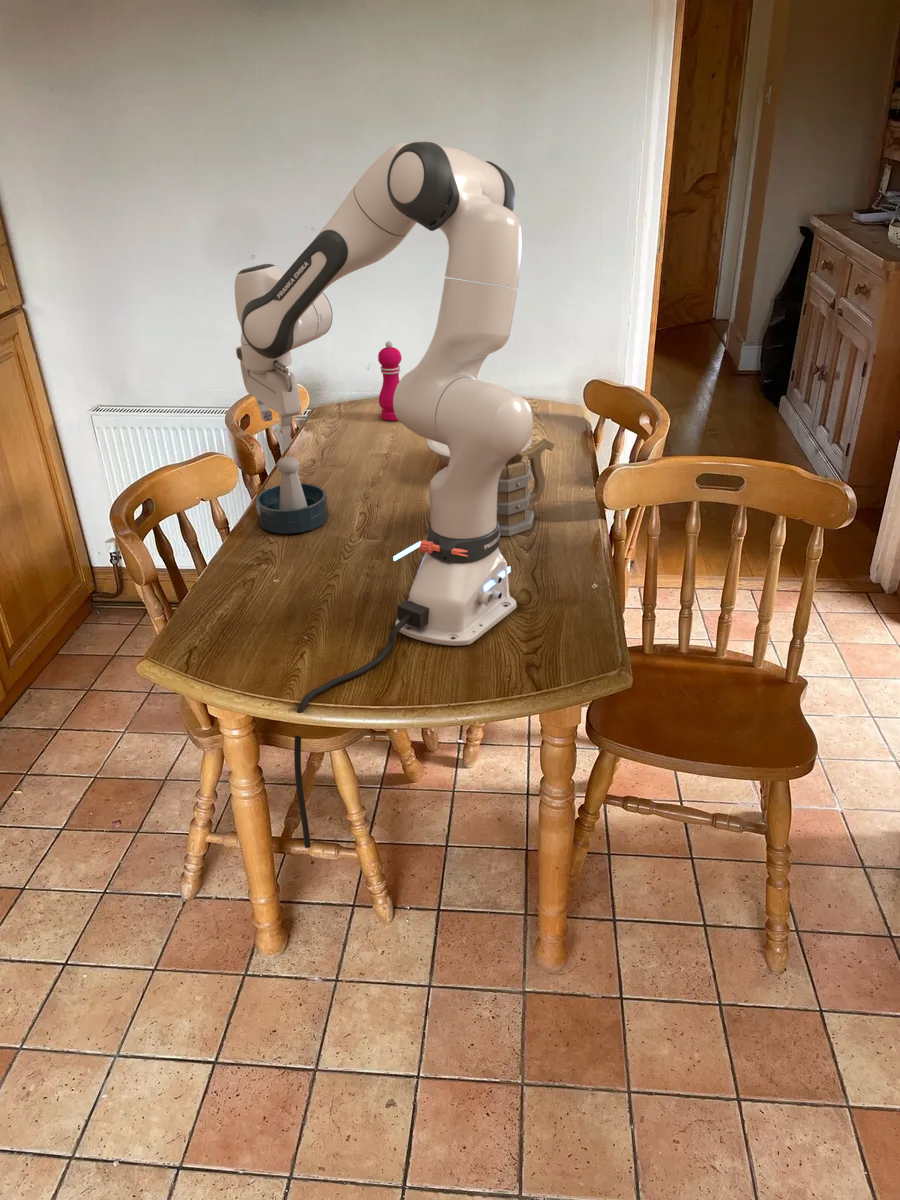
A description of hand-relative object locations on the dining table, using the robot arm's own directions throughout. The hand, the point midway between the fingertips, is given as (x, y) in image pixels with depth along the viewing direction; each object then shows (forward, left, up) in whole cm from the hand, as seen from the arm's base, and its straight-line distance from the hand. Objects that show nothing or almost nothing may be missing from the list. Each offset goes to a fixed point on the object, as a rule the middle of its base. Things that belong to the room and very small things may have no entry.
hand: (276, 426), depth 180 cm
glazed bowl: (+1, 0, -21) cm, 21 cm away
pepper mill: (+66, +11, -10) cm, 68 cm away
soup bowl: (+42, -24, -21) cm, 53 cm away
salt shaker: (+2, -1, -20) cm, 20 cm away
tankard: (+19, -42, -21) cm, 51 cm away
